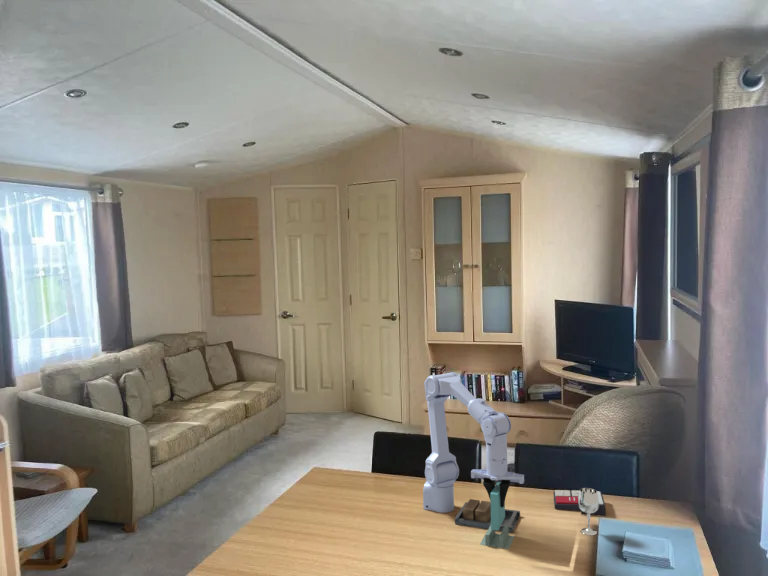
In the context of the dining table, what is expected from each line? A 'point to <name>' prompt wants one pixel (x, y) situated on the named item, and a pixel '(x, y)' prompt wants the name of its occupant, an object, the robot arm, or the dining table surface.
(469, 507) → the offcut
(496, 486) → the teal flat block
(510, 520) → the rack
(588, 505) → the wineglass
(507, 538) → the stand
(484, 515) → the offcut
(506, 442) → the robot arm
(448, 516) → the dining table surface
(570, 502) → the black red box
